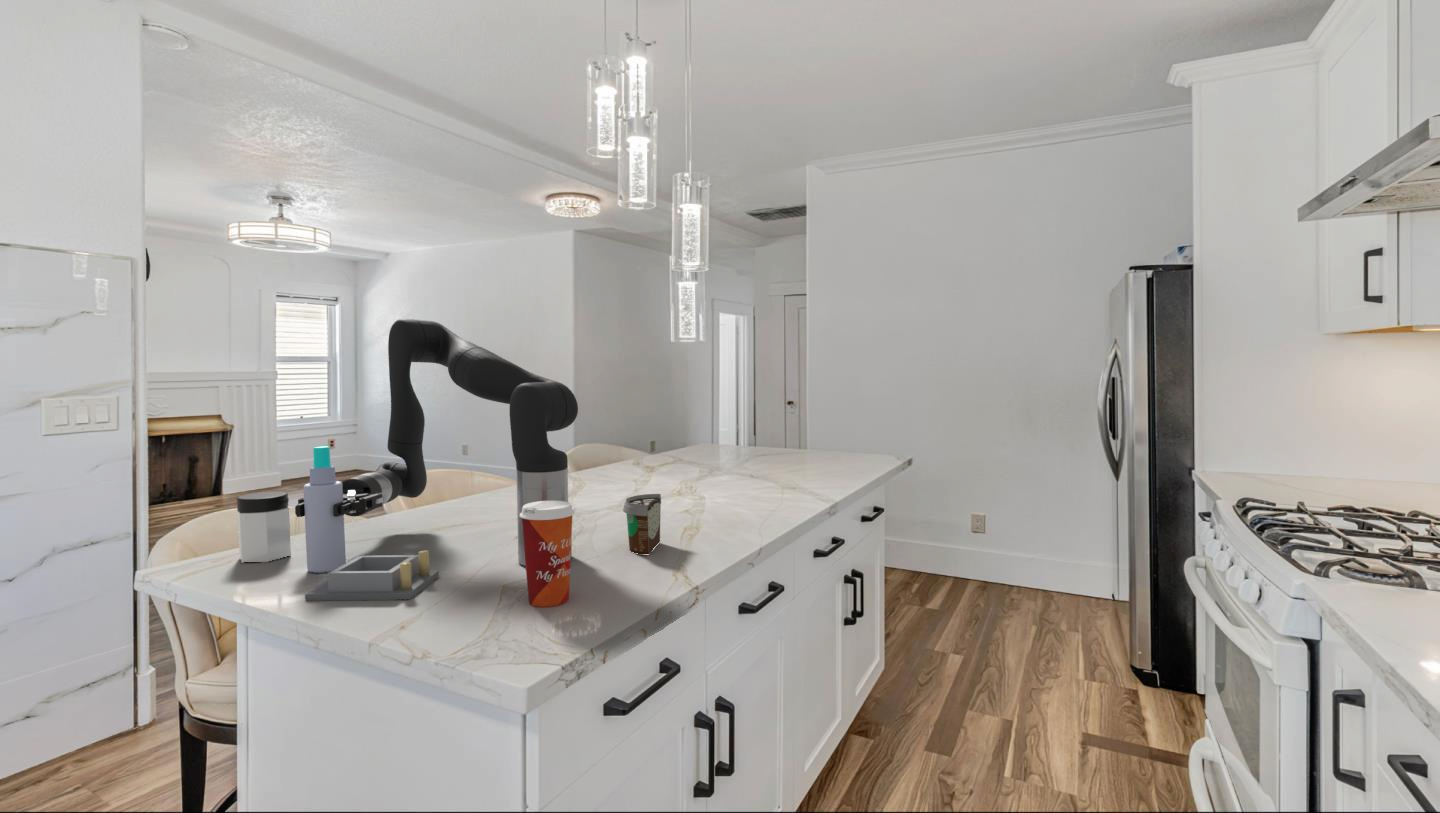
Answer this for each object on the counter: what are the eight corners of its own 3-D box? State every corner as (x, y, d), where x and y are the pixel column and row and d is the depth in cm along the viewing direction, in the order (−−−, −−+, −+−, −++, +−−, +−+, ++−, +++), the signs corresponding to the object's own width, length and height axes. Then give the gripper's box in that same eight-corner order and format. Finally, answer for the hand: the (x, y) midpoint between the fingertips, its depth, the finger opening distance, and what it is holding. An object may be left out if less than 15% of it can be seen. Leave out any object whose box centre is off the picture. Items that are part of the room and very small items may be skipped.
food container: (632, 540, 144) (632, 492, 143) (661, 541, 143) (661, 493, 142) (615, 556, 132) (615, 504, 131) (647, 557, 131) (646, 505, 130)
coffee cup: (548, 613, 101) (546, 512, 101) (509, 603, 106) (507, 506, 105) (587, 597, 109) (586, 502, 108) (550, 588, 113) (548, 497, 112)
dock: (439, 576, 120) (438, 547, 119) (409, 599, 108) (408, 568, 108) (345, 577, 120) (344, 548, 119) (305, 600, 108) (304, 569, 107)
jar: (294, 558, 131) (291, 495, 131) (242, 566, 126) (239, 501, 125) (287, 548, 138) (284, 489, 137) (237, 556, 133) (234, 494, 132)
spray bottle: (309, 576, 120) (303, 450, 119) (305, 567, 125) (299, 446, 124) (348, 569, 124) (343, 447, 122) (343, 562, 129) (338, 444, 127)
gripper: (327, 475, 138) (274, 490, 121) (400, 474, 138) (357, 489, 121) (328, 512, 138) (276, 532, 121) (401, 511, 138) (358, 531, 122)
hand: (317, 511), depth 121 cm, fingers closed on spray bottle, 6 cm apart
